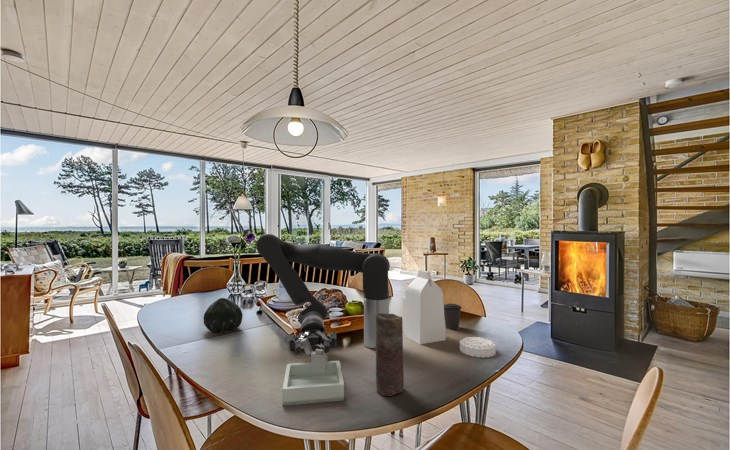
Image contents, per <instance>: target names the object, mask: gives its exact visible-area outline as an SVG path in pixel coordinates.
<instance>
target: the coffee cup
mask: <svg viewBox="0 0 730 450" xmlns="http://www.w3.org/2000/svg"><path fill="white" fill-rule="evenodd" d="M461 309H462V306H461V305H459V304H456V303H446V304H445V303H444V320H445V329H447V330H458V329H459V327H460V317H461Z"/></svg>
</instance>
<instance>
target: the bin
mask: <svg viewBox="0 0 730 450" xmlns="http://www.w3.org/2000/svg"><path fill="white" fill-rule="evenodd" d="M344 382H345V381H344V377H343V372H342V367H341V362H340V360H329V361H328V360H327V370H326V371H317V370H311V361H310V362H297V363H295V362H294V363H287V364H286V368H285V374H284V379H283V384H282V397H281V398H282V400H281V401H282V406H283V407H285V406H295V405H307V404H319V403H320V404H321V403H328V402H329V403H332V402H342V401H343V402H344V401H345V383H344Z"/></svg>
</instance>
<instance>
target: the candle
mask: <svg viewBox="0 0 730 450" xmlns="http://www.w3.org/2000/svg"><path fill="white" fill-rule="evenodd" d="M403 338H404V327H403V317H402V316H400V315H397V314H394V313H389V314H385V313H384V314H383V313H378V314H376V349H375V388H376V390H377V392H378V394H379V395H381V396H390V397H392V396H394V395H397V394H399V393H402V392H403V391H404V387H405V386H404V385H405V384H404V383H405V381H404V379H405V378H404V375H405V374H404V348H403V347H404V345H403V344H404V343H403V342H404V340H403Z"/></svg>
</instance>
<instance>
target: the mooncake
mask: <svg viewBox="0 0 730 450" xmlns="http://www.w3.org/2000/svg"><path fill="white" fill-rule="evenodd" d="M459 350H460V352H461V353H462V354H464V355H467V356H470V357H475V358H483V359H484V358H490V357H492V358H493V357H494V356H496V354H497V344H496V343H495V342H494V341H492V340H490V339H487V338H484V337H478V336H466V337H464V338H462V339H460V340H459Z"/></svg>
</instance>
